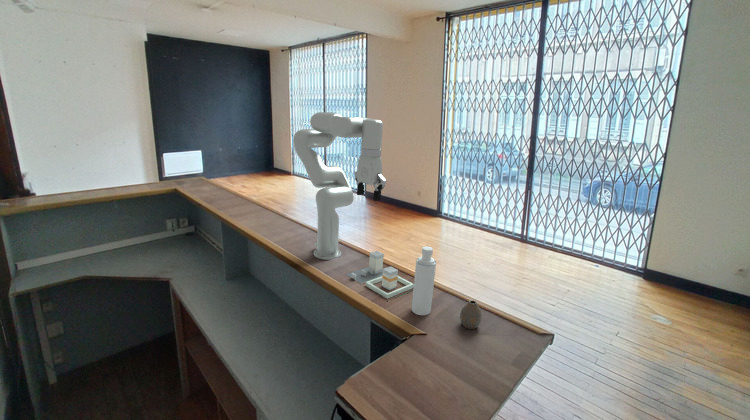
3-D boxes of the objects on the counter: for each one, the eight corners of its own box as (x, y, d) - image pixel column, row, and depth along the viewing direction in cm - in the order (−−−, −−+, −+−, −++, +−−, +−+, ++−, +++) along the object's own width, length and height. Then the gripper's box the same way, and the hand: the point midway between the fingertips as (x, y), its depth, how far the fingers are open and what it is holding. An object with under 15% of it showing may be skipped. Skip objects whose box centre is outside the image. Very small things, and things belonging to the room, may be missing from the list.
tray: (365, 289, 143) (365, 282, 143) (391, 279, 153) (391, 272, 152) (386, 302, 135) (387, 294, 134) (413, 291, 144) (413, 284, 143)
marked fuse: (381, 287, 144) (382, 268, 142) (389, 285, 146) (390, 266, 144) (388, 292, 141) (390, 272, 139) (396, 289, 144) (398, 270, 141)
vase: (456, 327, 123) (459, 303, 120) (462, 317, 128) (465, 294, 126) (476, 334, 119) (480, 310, 117) (482, 324, 125) (486, 300, 123)
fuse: (368, 270, 156) (369, 252, 153) (375, 268, 158) (377, 250, 156) (375, 274, 153) (376, 256, 150) (382, 271, 155) (383, 254, 153)
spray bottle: (434, 313, 130) (442, 246, 123) (417, 317, 127) (424, 248, 120) (424, 304, 135) (431, 239, 128) (408, 307, 133) (414, 241, 126)
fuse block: (345, 277, 151) (345, 269, 150) (372, 268, 161) (373, 261, 160) (360, 287, 144) (361, 279, 143) (388, 277, 154) (389, 269, 153)
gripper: (348, 150, 144) (347, 193, 149) (379, 157, 132) (376, 204, 136) (363, 149, 149) (361, 191, 153) (394, 156, 136) (391, 201, 141)
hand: (368, 197), depth 145 cm, fingers open, 9 cm apart
